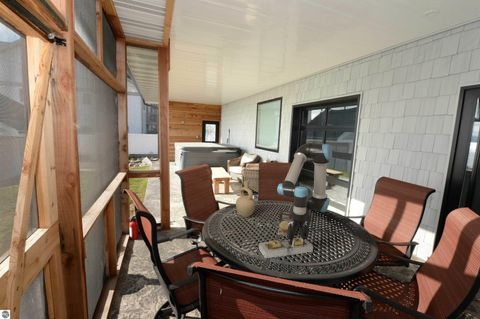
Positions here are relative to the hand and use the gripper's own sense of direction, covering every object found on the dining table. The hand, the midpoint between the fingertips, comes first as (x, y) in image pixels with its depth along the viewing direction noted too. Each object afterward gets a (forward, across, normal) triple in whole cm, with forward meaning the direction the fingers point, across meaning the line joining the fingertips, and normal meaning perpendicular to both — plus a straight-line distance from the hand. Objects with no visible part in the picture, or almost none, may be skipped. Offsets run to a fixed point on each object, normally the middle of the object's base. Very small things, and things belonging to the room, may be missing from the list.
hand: (296, 248), depth 139 cm
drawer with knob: (+1, +15, 0) cm, 15 cm away
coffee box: (0, -3, -20) cm, 20 cm away
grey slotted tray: (0, +7, 0) cm, 7 cm away
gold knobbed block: (0, 0, 0) cm, 0 cm away
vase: (0, +14, -58) cm, 60 cm away
